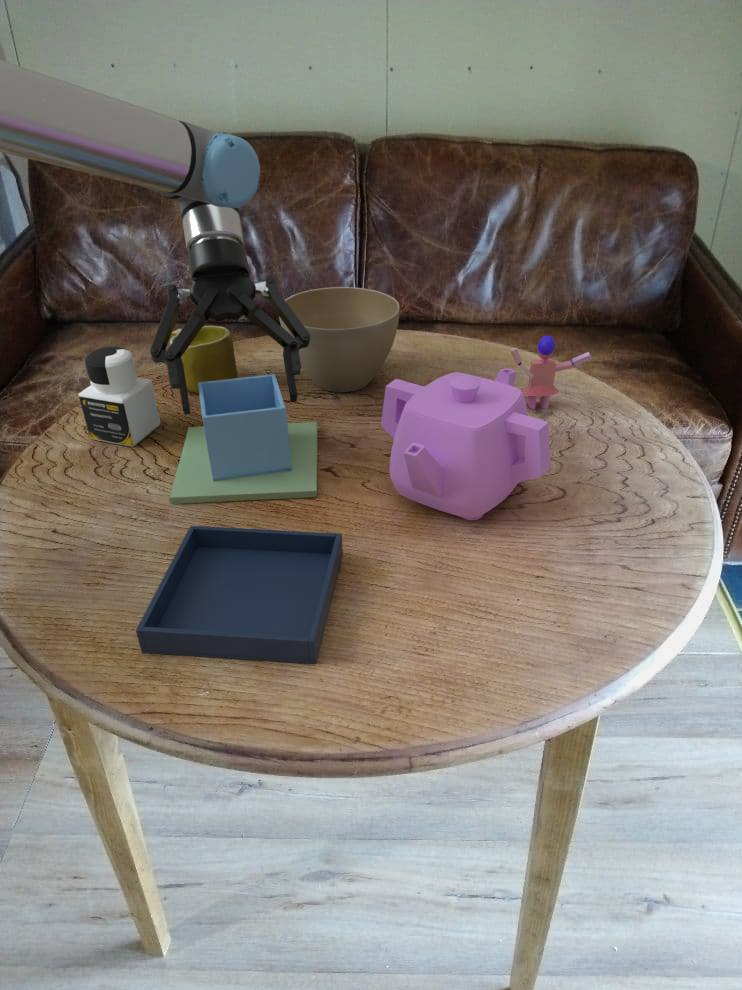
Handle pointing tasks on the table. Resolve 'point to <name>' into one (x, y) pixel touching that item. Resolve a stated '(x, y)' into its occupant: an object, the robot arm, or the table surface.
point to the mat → (298, 483)
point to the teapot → (462, 441)
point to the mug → (208, 357)
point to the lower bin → (244, 595)
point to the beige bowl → (345, 334)
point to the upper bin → (245, 427)
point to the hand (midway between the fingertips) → (241, 405)
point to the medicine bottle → (117, 399)
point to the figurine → (544, 372)
